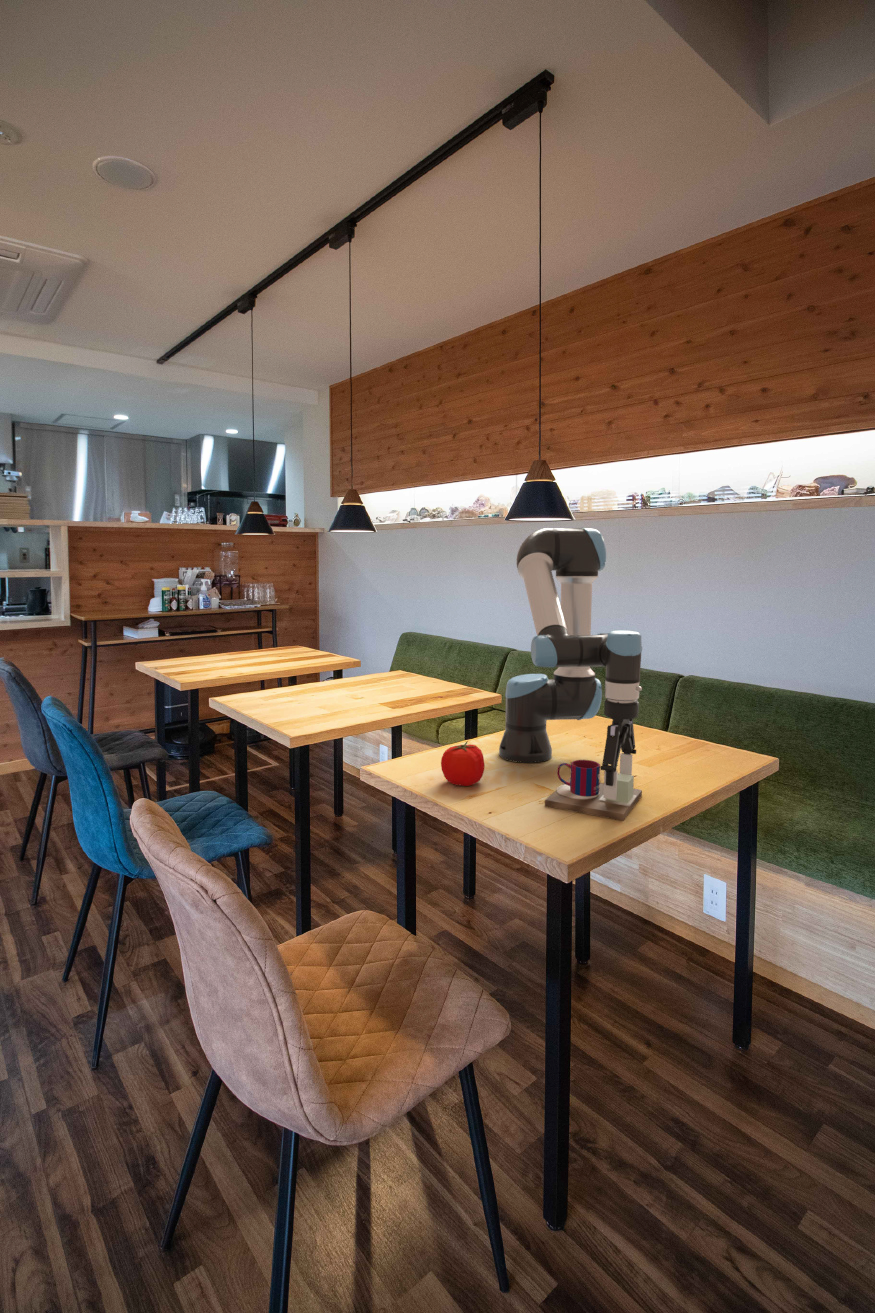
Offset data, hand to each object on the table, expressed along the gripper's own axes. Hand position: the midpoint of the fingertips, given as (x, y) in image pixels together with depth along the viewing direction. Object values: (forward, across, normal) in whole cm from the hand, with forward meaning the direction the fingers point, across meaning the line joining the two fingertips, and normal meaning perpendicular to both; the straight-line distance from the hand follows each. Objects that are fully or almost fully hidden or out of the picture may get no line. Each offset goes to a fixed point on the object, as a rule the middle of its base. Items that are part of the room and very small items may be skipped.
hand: (617, 789), depth 156 cm
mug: (+2, 0, +9) cm, 10 cm away
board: (+4, 0, +5) cm, 6 cm away
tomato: (+4, -4, +38) cm, 39 cm away
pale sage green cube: (+2, 0, 0) cm, 2 cm away
